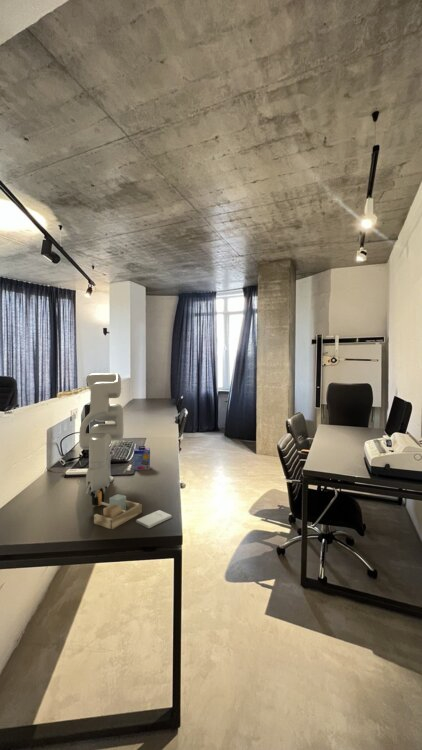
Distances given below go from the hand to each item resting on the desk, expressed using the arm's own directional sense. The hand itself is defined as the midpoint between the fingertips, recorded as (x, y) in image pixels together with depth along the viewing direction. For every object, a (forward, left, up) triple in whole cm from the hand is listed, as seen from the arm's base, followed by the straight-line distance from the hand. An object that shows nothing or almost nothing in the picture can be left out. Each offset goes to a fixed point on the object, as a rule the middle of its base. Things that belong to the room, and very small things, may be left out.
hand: (98, 503), depth 151 cm
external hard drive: (+31, +1, -2) cm, 31 cm away
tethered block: (+7, 0, -1) cm, 7 cm away
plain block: (+17, -8, -1) cm, 19 cm away
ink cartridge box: (-18, +52, -1) cm, 55 cm away
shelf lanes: (+17, -4, -1) cm, 17 cm away
